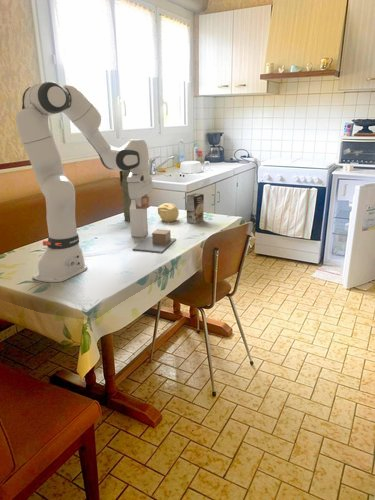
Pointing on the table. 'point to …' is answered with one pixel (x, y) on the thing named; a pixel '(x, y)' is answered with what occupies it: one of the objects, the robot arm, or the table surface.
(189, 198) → the coffee box
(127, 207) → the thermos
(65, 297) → the table surface
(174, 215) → the sculpture
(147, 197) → the top block
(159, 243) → the building board
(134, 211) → the milk carton
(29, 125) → the robot arm
